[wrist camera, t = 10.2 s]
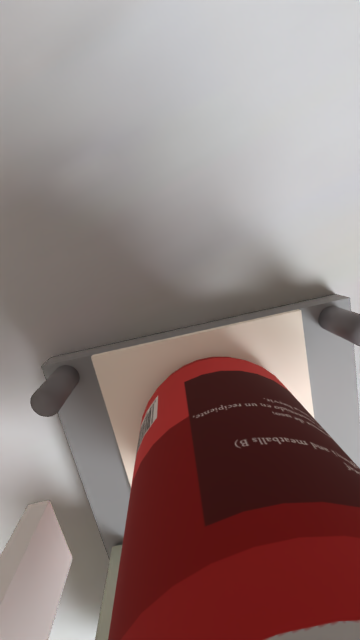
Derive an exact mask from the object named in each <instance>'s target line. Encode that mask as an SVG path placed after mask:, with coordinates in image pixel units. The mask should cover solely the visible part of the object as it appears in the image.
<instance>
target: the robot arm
mask: <svg viewBox="0 0 360 640" xmlns="http://www.w3.org/2000/svg"><path fill="white" fill-rule="evenodd" d="M72 560H73V558H72V555H71V553H70V550H69V548H68V545H67V543H66V540H65V538H64V535H63V532H62V530H61V527H60V525H59V522H58V520H57V517H56V515H55V512H54V510H53V507H52V505H51V502H50V500H46V501H42V502H37V503H33V504H28V506H27V508H26V510H25V512H24V513H23V515H22V517H21V519H20V521H19V523H18V525H17V526H16V528H15V530H14V532H13V534H12V536H11V537H10V539H9V541H8V543H7V545H6V547H5V549H4V550H3V552H2V554H1V556H0V640H48V638H49V635H50V632H51V629H52V625H53V622H54V619H55V615H56V612H57V609H58V606H59V602H60V599H61V596H62V592H63V589H64V586H65V583H66V579H67V576H68V573H69V569H70V566H71V563H72Z"/></svg>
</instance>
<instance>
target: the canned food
mask: <svg viewBox="0 0 360 640" xmlns="http://www.w3.org/2000/svg"><path fill="white" fill-rule="evenodd" d="M108 640H360V468H359V467H358V466H357V465H356V464H355V463H354V462H353V461H352V460H351V458H350V457H349V456H348V455H347V454H346V453H345V452H344V451H343V450H342V448H341V447H340V446H339V445H338V444H337V443H336V442H335V441H334V440H333V439H332V437H331V436H330V435H329V434H328V433H327V432H326V431H325V430H324V429H323V428H322V426H321V425H320V424H319V423H318V422H317V421H316V420H315V419H314V418H313V417H312V415H311V414H310V413H309V412H308V411H307V410H306V409H305V408H304V407H303V406H302V404H301V403H300V402H299V401H298V400H297V399H296V398H295V397H294V396H293V394H292V393H291V392H290V391H289V390H288V389H287V388H286V387H285V386H284V385H283V384H282V383H281V381H280V380H279V379H278V378H277V377H276V376H275V375H273V374H272V373H270V372H269V371H267V370H266V369H265V368H263V367H261V366H259V365H256V364H254V363H251V362H249V361H246V360H242V359H237V358H232V357H209V358H204V359H199V360H196V361H193V362H191V363H189V364H186V365H184V366H182V367H181V368H179V369H178V370H176V371H175V372H173V373H172V374H171V375H170V376H169V377H168V378H167V379H166V380H165V381H164V382H163V383H162V384H161V385H160V386H159V387H158V388H157V390H156V391H155V393H154V394H153V396H152V397H151V399H150V400H149V402H148V404H147V406H146V409H145V411H144V414H143V416H142V421H141V427H140V432H139V439H138V445H137V452H136V459H135V465H134V472H133V478H132V485H131V492H130V498H129V505H128V511H127V518H126V524H125V531H124V538H123V544H122V551H121V557H120V564H119V571H118V577H117V584H116V590H115V597H114V604H113V610H112V617H111V623H110V630H109V636H108Z"/></svg>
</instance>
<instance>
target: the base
mask: <svg viewBox="0 0 360 640" xmlns="http://www.w3.org/2000/svg"><path fill="white" fill-rule="evenodd" d="M354 344H356V345H358V346H360V314H358V313H355V312H352V311H351V305H350V298H349V297H345V296H341V295H337V294H334V295H330V296H325V297H321V298H316V299H312V300H307V301H303V302H298V303H294V304H289V305H285V306H280V307H276V308H271V309H267V310H262V311H258V312H253V313H249V314H244V315H240V316H235V317H231V318H226V319H222V320H217V321H213V322H208V323H204V324H199V325H195V326H190V327H186V328H181V329H177V330H172V331H168V332H163V333H159V334H154V335H150V336H145V337H141V338H136V339H132V340H127V341H123V342H118V343H114V344H109V345H105V346H100V347H96V348H91V349H87V350H82V351H78V352H73V353H69V354H64V355H60V356H55V357H51V358H50V359H49V360H48V361H47V362H45V363H44V364H43V365H42V366H41V367H42V370H43V373H44V376H45V378H46V381H45V382H44V383H43V384H42V385H41V386H40V388H39V389H38V390H37V391H36V392H35V393H34V394H33V395H32V397H31V401H30V403H31V407H32V409H33V410H34V411H35V412H36V413H37V414H39V415H41V416H45V417H49V416H53V415H55V414H56V413H58V415H59V418H60V421H61V424H62V427H63V429H64V432H65V435H66V438H67V441H68V444H69V447H70V449H71V452H72V455H73V458H74V461H75V464H76V466H77V469H78V472H79V475H80V478H81V481H82V483H83V486H84V489H85V492H86V495H87V498H88V500H89V503H90V506H91V509H92V512H93V515H94V518H95V520H96V523H97V526H98V529H99V532H100V535H101V537H102V540H103V543H104V546H105V549H106V552H107V554H108V557H109V560H110V556H111V551H112V547H113V546H117V545H122V544H123V538H124V531H125V524H126V518H127V511H128V505H129V498H130V492H131V485H132V478H133V472H134V465H135V459H136V452H137V445H138V439H139V432H140V427H141V421H142V416H143V414H144V411H145V409H146V406H147V404H148V402H149V400H150V399H151V397H152V396H153V394H154V393H155V391H156V390H157V388H158V387H159V386H160V385H161V384H162V383H163V382H164V381H165V380H166V379H167V378H168V377H169V376H170V375H171V374H172V373H173V372H175V371H176V370H178V369H179V368H181V367H182V366H184V365H186V364H189V363H191V362H193V361H196V360H199V359H204V358H209V357H232V358H237V359H242V360H246V361H249V362H251V363H254V364H256V365H259V366H261V367H263V368H265V369H266V370H267V371H269V372H270V373H272V374H273V375H275V376H276V377H277V378H278V379H279V380H280V381H281V383H282V384H283V385H284V386H285V387H286V388H287V389H288V390H289V391H290V392H291V393H292V394H293V396H294V397H295V398H296V399H297V400H298V401H299V402H300V403H301V404H302V406H303V407H304V408H305V409H306V410H307V411H308V412H309V413H310V414H311V415H312V417H313V418H314V419H315V420H316V421H317V422H318V423H319V424H320V425H321V426H322V428H323V429H324V430H325V431H326V432H327V433H328V434H329V435H330V436H331V437H332V439H333V440H334V441H335V442H336V443H337V444H338V445H339V446H340V447H341V448H342V450H343V451H344V452H345V453H346V454H347V455H348V456H349V457H350V458H351V460H352V461H353V462H354V463H355V464H356V465H357V466H358V467H359V468H360V415H359V403H358V391H357V378H356V366H355V354H354Z"/></svg>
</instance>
